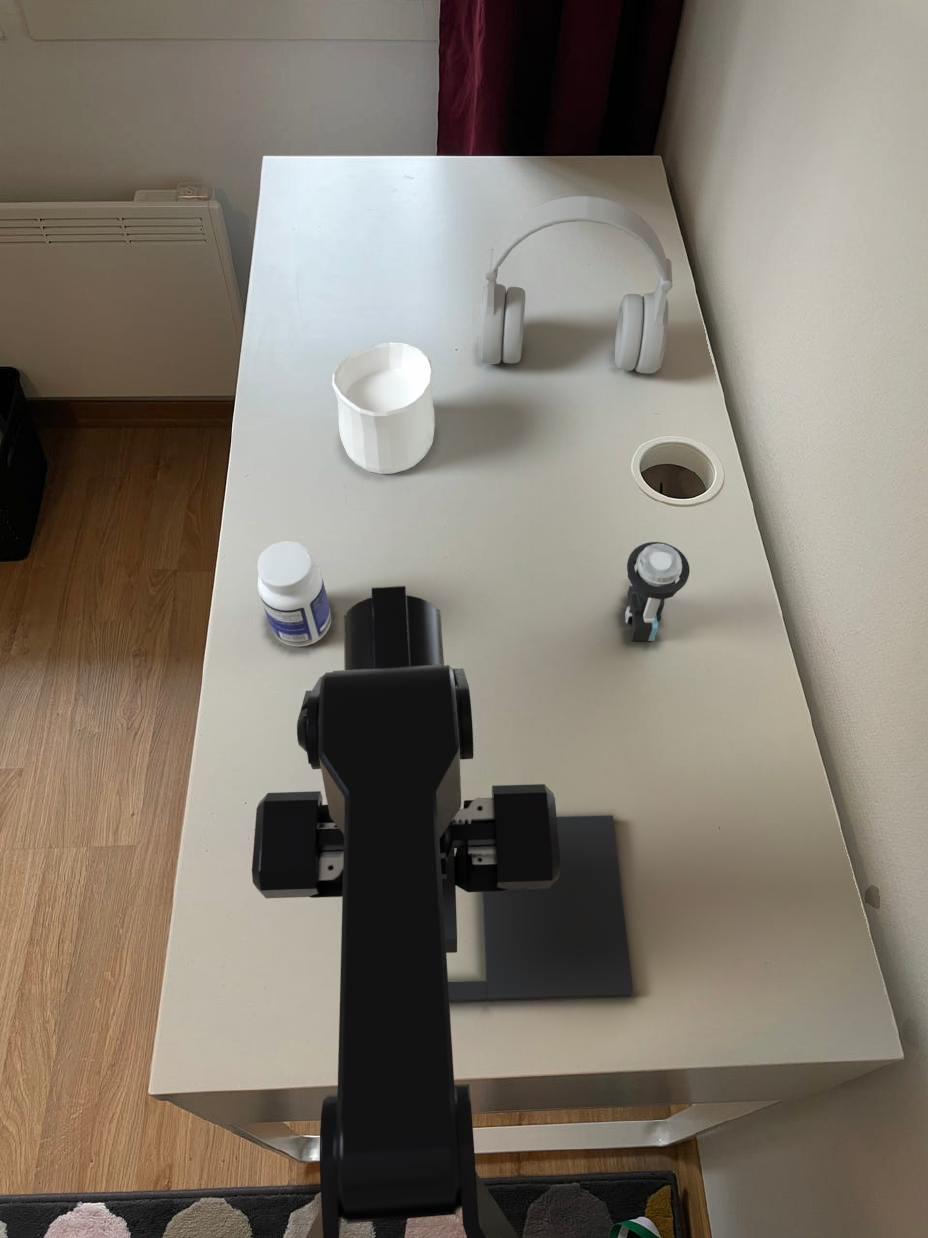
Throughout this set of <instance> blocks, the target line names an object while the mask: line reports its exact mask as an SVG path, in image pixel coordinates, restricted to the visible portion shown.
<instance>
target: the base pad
mask: <svg viewBox="0 0 928 1238" xmlns="http://www.w3.org/2000/svg"><path fill="white" fill-rule="evenodd" d="M459 824H462V823H461V821H459ZM454 825H455V822H454ZM557 827H558V838H559V850H560V875H559V878H558V880H557V881H556V882H555V883H554V885H553V886H552V887H551V888H550V889H527V890H507V891H497V892H482V909H483V910H482V911H483V913H482V914H483V915H482V916H483V937H484V960H485V961H484V962H485V980H473V981H471V980H470V981H448V989H449V1004H451V1003H452V1004H453V1003H454V1004H455V1003H456V1004H457V1003H484V1002H515V1001H546V1000H547V1001H548V1000H549V1001H551V1000H577V999H578V1000H579V999H610V998H615V999H616V998H631V997H632V996H633V995H634V989H633V982H632V981H633V980H632V971H631V961H630V953H629V945H628V936H627V926H626V917H625V909H624V901H623V892H622V883H621V876H620V866H619V857H618V850H617V849H618V848H617V840H616V839H617V838H616V832H615V822H614V815H610V814H609V815H576V816H557Z"/></svg>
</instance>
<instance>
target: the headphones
mask: <svg viewBox="0 0 928 1238" xmlns="http://www.w3.org/2000/svg"><path fill="white" fill-rule="evenodd" d="M575 222H590V223H596V224H601V225H605V226H610V227H614V228H616V229H618V230H620V231H621V232H624V233H626V234H627V235H629V236H630V237H632V238H634V239H635V240H637V241H638V242H639V244H640V245H642V247H643V248H644V249H645V250H646V251H647V253H648V254H649V255H650V258H651V260H652V262H653V264H654V266H655V268H656V270H657V272H658V273H659V276H658V280H657V283H656V286H655V290H654V291H653V292H647V293H644V294H643V295H641V294H639V293H628V294H625V295H624V296H623V297H622V299H621V301H620V305H619V309H618V315H617V322H616V330H615V339H614V340H615V341H614V344H615V345H614V361H615V365H616V368H617V369H619V370H622V371H633V370H635V372H637V373H640V374H647V375H648V374H655V373H656V372H657V371H659V370H660V368H661V366H662V363H663V360H664V355H665V350H666V345H667V337H668V329H669V328H668V327H669V300H668V299H667V297H668V292H670V291H671V290H672V289H673V272H672V271H673V270H672V269H673V268H672V260H671V259H669V258H667V256H666V254H665V250H664V248H663V245H662V243H661V241H660V238H659V236H658V234H657V233H656V232H655V230H654V229H653V228H652V226H651V225H650V224H649V223H648V222H647V221H646V220H645V219H644V218H643V217H642V216H640V215H639V214H638V213H636V212H635V211H633V210H632V209H631V208H629V207H628V206H625V205H623V204H620V203H619V202H617V201H614V200H611V199H607V198H604V197H597V196H588V195H585V196H584V195H582V196H579V195H578V196H576V195H575V196H567V197H562V198H557V199H553V200H550V201H547V202H544V203H541V204H540V205H538V206H535V207H534V208H532V209H529V210H528V211H527V212H525V213H524V214H522V215H521V216H520V217H518V218H517V219H516V220H515V221H514V222H513V223H512V224H511V225H510V226H509V227H508V228H507V229H506V230H505V232H504V233H503V234H502V236H501V237H500V239H499V240H498V242H497V243H496V245H495V247H494V248H490V249H488V250H487V256H486V267H485V275H484V276H485V279H486V280H487V281H488V283H487V284H486V285H485V286H483V287H482V289H481V297H480V305H479V307H480V308H479V317H478V337H477V338H478V339H477V347H478V348H477V353H478V355H477V356H478V360H480V361H481V363H482V364H488V365H496V364H500V363H501V362H503V363H505V364H518V363H519V362H520V360H521V358H522V350H523V338H524V337H523V336H524V325H525V323H524V322H525V310H526V291H525V289H524V288H522V287H519V286H509V287H507V288H506V286H505V285H504V284H499V283H497V278H498V273H499V268H500V266H502V264H503V262H504V261H505V260H506V258H507V257H508V256H509V255H510V253H511V252H512V251H513V249H515V247H516V246H517V245H519V244H520V243H521V242H523V241H524V240H525V239H526V238H528V237H529V236H531V235H533V234H535V233H536V232H539V231H541V230H543V229H546V228H548V227H552V226H555V225H558V224H564V223H575Z"/></svg>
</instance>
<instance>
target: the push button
mask: <svg viewBox="0 0 928 1238" xmlns="http://www.w3.org/2000/svg"><path fill="white" fill-rule="evenodd" d="M635 566H636V568H635ZM690 568H691V567H690V563H689V561H688V559H687V558H686V556H685V554H684V553H682V551H681V550H679V549H678V548H677V547H675V546H673V545H671V544H669V543H665V542H662V541H661V542H660V541H649V542H645V543H642V544H639V545H638V546H637V547H635V548H634V549H633V550H632V551H631V553H630V555H629V556H628V559H627V562H626V571H627V578H628V580H629V582H630V584H631V585H629V587H628V591H627V600H628V601H629V605H627V607H626V610H625V612H624V613H625V614H624V617H625V624H629V621H630V618H631V620H632V622H631V627H630V631H629V636H630V641H631V642H642V641H643V642H654V641H655V639H656V638H655V637H656V635H657V631H658V629H659V622H661V620H662V612H663V610H664V607H665V603H666V601H665V600H667V599H670V598H673V597H674V596H675V595H676V594H677V592H679V591H680V590H682V588H684V587H685V585H686V584H687V582H688V579H689V577H690V571H691V569H690Z"/></svg>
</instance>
